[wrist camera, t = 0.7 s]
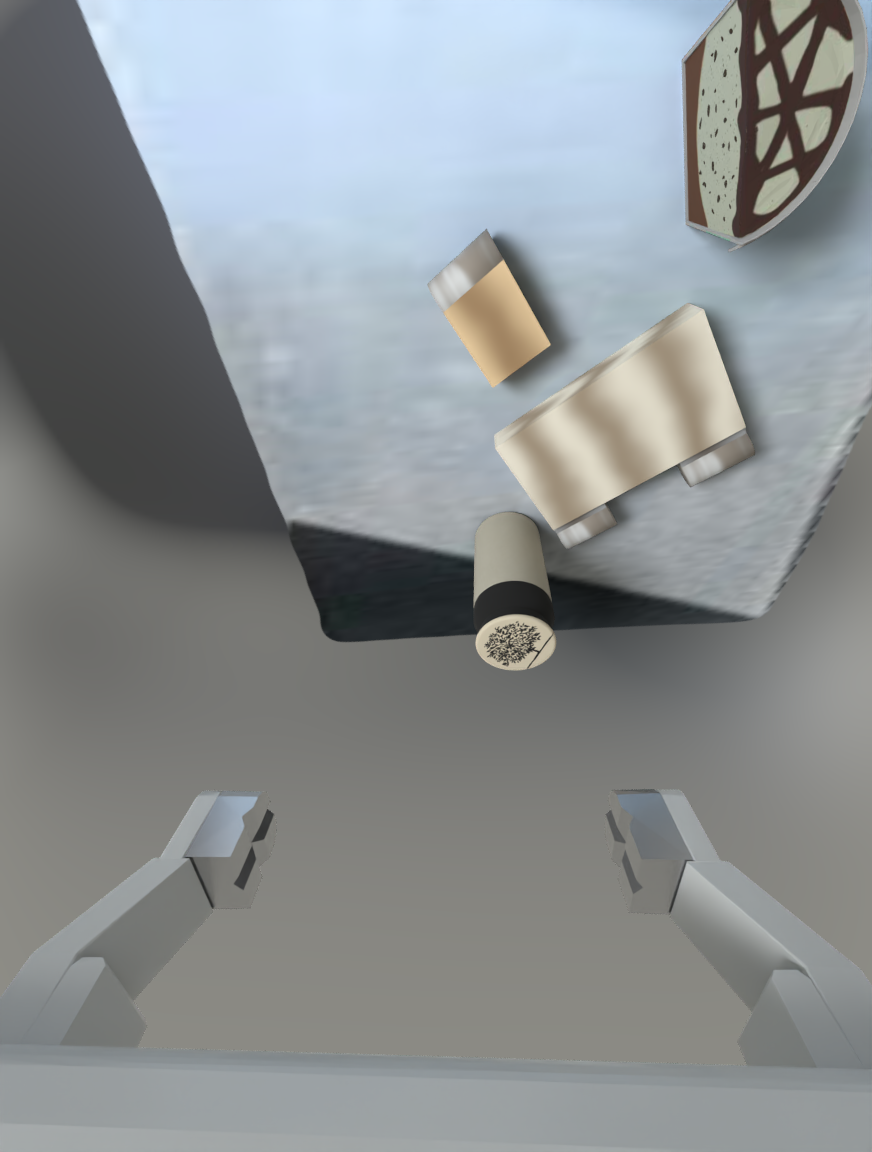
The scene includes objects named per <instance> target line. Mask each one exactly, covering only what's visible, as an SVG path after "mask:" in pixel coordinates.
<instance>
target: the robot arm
mask: <svg viewBox="0 0 872 1152" xmlns="http://www.w3.org/2000/svg"><path fill="white" fill-rule="evenodd" d="M608 802H609V805H610V808H611V810H610V811H609V812H608V813H607V814H606V816H605V837H606V842H607V846H608V850H609V853H610V856H611V859H612V860H613V861H614V862H615V863H616V864H617V865H618V866H619V867H620V873H619V878H618V881H619V884H620V887H621V890H622V893H623V896H624V899H625V902H626V905H627V908H628V911H629V913H644V914H668V915H670V918H671V919H672V920H673V921H674V922H675V924H676V925H677V926H678V927H679V928H680V929H681V930H682V932H683V933H684V934H685V935H686V936H687V937H688V939H689V940H690V941H691V942H692V943H693V944H694V946H695V947H696V948H697V949H698V950H699V951H700V952H701V954H702V955H703V956H704V957H705V958H706V959H707V960H708V962H709V963H710V964H711V965H712V966H713V967H714V969H715V970H716V971H717V972H718V973H719V974H720V976H721V977H722V978H723V979H724V980H725V981H726V983H727V984H728V985H729V986H730V987H731V988H732V990H733V991H734V992H735V993H736V994H737V995H738V997H739V998H740V999H741V1000H742V1001H743V1002H744V1003H745V1005H746V1006H747V1007H748V1008H749V1009H750V1010H751V1012H752V1013H751V1015H750V1017H749V1019H748V1021H747V1022H746V1024H745V1026H744V1028H743V1030H742V1032H741V1035H740V1037H739V1039H738V1041H737V1043H738V1045H739V1047H740V1050H741V1052H742V1055H743V1057H744V1059H745V1062H746V1064H747V1065H715V1064H714V1065H713V1064H679V1063H646V1062H614V1061H580V1060H546V1059H512V1058H478V1057H443V1056H412V1055H375V1054H344V1053H343V1054H341V1053H310V1052H276V1051H274V1052H273V1051H241V1050H207V1049H173V1048H172V1049H171V1048H138V1045H139V1043H140V1041H141V1039H142V1036H143V1034H144V1032H145V1030H146V1028H147V1025H146V1019H145V1017H144V1016H143V1014H142V1013H141V1011H140V1010H139V1009H138V1007H137V1006H136V1004H135V1003H134V1000H135V999H136V997H137V996H138V995H139V994H140V993H141V992H142V991H143V989H144V988H145V987H146V986H147V985H148V984H149V983H150V982H151V981H152V979H153V978H154V977H155V976H156V975H157V974H158V973H159V972H160V971H161V969H162V968H163V967H164V966H165V965H166V964H167V963H168V962H169V960H170V959H171V958H172V957H173V956H174V955H175V954H176V953H177V952H178V950H179V949H180V948H181V947H182V946H183V945H184V944H185V943H186V941H187V940H188V939H189V938H190V937H191V936H192V935H193V934H194V933H195V932H196V930H197V929H198V928H199V927H200V926H201V925H202V924H203V922H204V921H205V920H206V919H207V918H208V917H209V916H210V915H211V914H212V913H213V910H212V909H242V908H243V909H244V908H251V905H252V903H253V900H254V897H255V895H256V892H257V890H258V886H259V884H260V882H261V879H262V874H261V871H260V866H261V865H262V864H263V863H264V862H265V861H266V860H267V859H268V858H269V857H270V855H271V852H272V849H273V847H274V843H275V837H276V831H277V829H276V819H275V815H274V814H273V813H272V812H271V811H270V810H268V809H267V808H268V806H269V803H270V799H269V796H268V793H267V792H251V791H203V792H202V793H200V794H199V795H198V796H197V797H196V799H195V800H194V802H193V804H192V806H191V807H190V809H189V810H188V812H187V814H186V815H185V817H184V819H183V821H182V822H181V824H180V825H179V827H178V829H177V830H176V832H175V834H174V835H173V837H172V839H171V840H170V842H169V843H168V845H167V847H166V848H165V850H164V852H163V854H162V855H161V857H160V858H153V859H152V860H150V861H149V862H148V863H147V864H145V865H144V866H143V867H141V868H140V869H139V870H138V871H136V872H135V873H134V874H133V875H131V876H130V877H129V878H128V879H126V880H125V881H124V882H122V883H121V884H120V885H119V886H117V887H116V888H115V889H114V890H112V891H111V892H110V893H108V894H107V895H106V896H105V897H103V898H102V899H101V900H100V901H98V902H97V903H96V904H94V905H93V906H92V907H91V908H89V909H88V910H87V911H85V912H84V913H83V914H82V915H81V916H79V917H78V918H77V919H75V920H74V921H73V922H72V923H70V924H69V925H68V926H66V927H65V928H64V929H63V930H61V931H60V932H59V933H58V934H56V935H55V936H54V937H52V938H51V939H50V940H49V941H47V942H46V943H45V944H44V945H42V946H41V947H40V948H38V949H37V950H36V951H35V952H33V953H32V954H31V956H30V957H29V959H28V960H27V962H26V963H25V964H24V966H23V967H22V968H21V970H20V971H19V973H18V974H17V975H16V977H15V978H14V979H13V981H12V982H11V984H10V985H9V986H8V988H7V989H6V990H5V992H4V993H3V994H2V996H1V997H0V1152H872V986H871V984H870V982H869V981H868V980H867V978H866V977H865V975H864V974H863V972H862V971H861V969H860V968H858V967H857V966H856V965H855V964H853V963H852V962H851V961H850V960H849V959H847V958H846V957H845V956H844V955H842V954H841V953H840V952H839V951H837V950H836V949H835V948H834V947H832V946H831V945H830V944H829V943H828V942H826V941H825V940H824V939H823V938H822V937H820V936H819V935H818V934H817V933H815V932H814V931H813V930H812V929H810V928H809V927H808V926H807V925H806V924H804V923H803V922H802V921H801V920H799V919H798V918H797V917H796V916H794V915H793V914H792V913H791V912H790V911H788V910H787V909H786V908H785V907H783V906H782V905H781V904H780V903H779V902H777V901H776V900H775V899H774V898H772V897H771V896H770V895H769V894H767V893H766V892H765V891H764V890H763V889H761V888H760V887H759V886H758V885H756V884H755V883H754V882H753V881H752V880H750V879H749V878H748V877H747V876H745V875H744V874H743V873H742V872H740V871H739V870H738V869H737V868H736V867H734V866H733V865H732V864H730V863H729V862H728V861H721V860H720V859H719V857H718V855H717V853H716V851H715V850H714V848H713V846H712V844H711V842H710V841H709V839H708V837H707V835H706V833H705V832H704V830H703V828H702V826H701V824H700V822H699V821H698V819H697V817H696V815H695V813H694V811H693V810H692V808H691V806H690V804H689V802H688V801H687V799H686V797H685V795H684V794H683V793H682V792H681V791H680V790H654V789H642V790H612V791H611V792H610V793H609V798H608Z"/></svg>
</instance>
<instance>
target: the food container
mask: <svg viewBox="0 0 872 1152" xmlns="http://www.w3.org/2000/svg"><path fill="white" fill-rule="evenodd" d="M867 58H868V42H867V28H866V24H865V20H864V16H863V12H862V8H861V6H860V4H859V2H858V0H731V1H730V2H729V3H728V4H727V6H726V7H725V8H724V9H723V10H722V12H721V13H720V14H719V15H718V16H717V18H716V19H715V20H714V21H713V23H712V24H711V25H710V26H709V27H708V29H707V30H706V31H705V32H704V33H703V35H702V36H701V37H700V38H699V39H698V41H697V42H696V43H695V44H694V46H693V47H692V48H691V49H690V50H689V52H688V53H687V54H686V55H685V56H684V58H683V59H682V90H683V133H684V175H685V217H686V225H688V226H691V227H694V228H696V229H699V230H702V231H704V232H707V233H710V234H712V235H715V236H718V237H720V238H723V239H725V240H728V241H731V242H733V243H736V244H737V246H735V247H733V248H731V249H729V250H728V251H729V252H731V251H733V250H736V249H738V248H740V247H743V246H745V245H747V244H749V243H751V242H753V241H755V240H756V239H758V238H760V237H761V236H763V235H764V234H766V233H768V232H769V231H770V230H772V229H773V228H774V227H775V226H777V225H778V224H779V223H781V222H782V221H783V220H784V219H785V218H787V217H788V216H789V215H790V214H791V213H792V212H793V211H794V210H795V209H796V208H797V207H798V206H799V205H800V204H801V203H802V202H803V201H804V200H805V198H806V197H807V196H808V195H809V194H810V193H811V191H812V190H813V189H814V188H815V187H816V185H817V184H818V183H819V182H820V180H821V179H822V177H823V176H824V174H825V173H826V171H827V170H828V169H829V167H830V166H831V164H832V163H833V161H834V159H835V157H836V156H837V154H838V152H839V150H840V148H841V147H842V145H843V143H844V141H845V139H846V137H847V134H848V132H849V130H850V127H851V125H852V123H853V121H854V118H855V115H856V112H857V109H858V106H859V103H860V100H861V96H862V91H863V87H864V82H865V77H866V70H867Z"/></svg>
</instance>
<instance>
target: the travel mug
mask: <svg viewBox="0 0 872 1152" xmlns="http://www.w3.org/2000/svg"><path fill="white" fill-rule="evenodd" d="M554 620H555V616H554V611H553V605H552V600H551V595H550V589H549V584H548V579H547V573H546V568H545V562H544V557H543V552H542V546H541V541H540V536H539V531H538V528H537V526H536V525H535V523H534V522H533V521H532V520H531V519H529V518H528V517H526V516H524V515H522V514H519V513H514V512H503V513H498V514H495V515H493V516H491V517H489V518H487V519H486V520H485V521H484V522H482V524H481V525H480V526H479V528H478V529H477V531H476V535H475V563H474V626H475V629H476V631H477V632H478V635H477V638H476V648H477V651H478V653H479V655H480V656H481V657H482V658H483V659H484V660H485V661H486V662H487V663H489V664H491V665H493V666H495V667H498V668H501V669H506V670H524V669H529V668H532V667H535V666H538V665H540V664H542V663H543V662H545V661H546V660H547V659H548V658H549V657H550V656H551V655H552V654H553V652H554V650H555V647H556V636H555V634H554V632H553V630H552V627H553V625H554Z"/></svg>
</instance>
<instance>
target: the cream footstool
mask: <svg viewBox="0 0 872 1152" xmlns="http://www.w3.org/2000/svg"><path fill="white" fill-rule="evenodd" d="M745 428H746V425H745V423H744V420H743V417H742V414H741V412H740V409H739V406H738V403H737V400H736V398H735V395H734V392H733V389H732V387H731V384H730V381H729V378H728V375H727V373H726V370H725V367H724V364H723V362H722V359H721V356H720V353H719V351H718V348H717V345H716V342H715V339H714V337H713V334H712V331H711V328H710V326H709V323H708V320H707V317H706V314H705V312H704V309H702V308H699V307H697V306H694V305H692V304H690V303H687V304H685V305H684V306H682V307H681V308H680V309H678V310H677V311H675V312H674V313H672V314H671V315H669V316H668V317H666V318H665V319H663V320H662V321H661V322H659V323H658V324H656V325H655V326H653V327H652V328H650V329H649V330H647V331H646V332H644V333H643V334H641V335H640V336H639V337H637V338H636V339H634V340H633V341H631V342H630V343H628V344H627V345H625V346H624V347H622V348H621V349H620V350H618V351H617V352H615V353H614V354H612V355H611V356H609V357H608V358H606V359H605V360H603V361H602V362H601V363H599V364H598V365H596V366H595V367H593V368H592V369H590V370H589V371H587V372H586V373H584V374H583V375H582V376H580V377H579V378H577V379H576V380H574V381H573V382H571V383H570V384H568V385H567V386H565V387H564V388H563V389H561V390H560V391H558V392H557V393H555V394H554V395H552V396H551V397H549V398H548V399H546V400H545V401H544V402H542V403H541V404H539V405H538V406H536V407H535V408H533V409H532V410H530V411H529V412H527V413H526V414H524V415H523V416H522V417H520V418H519V419H517V420H516V421H514V422H513V423H511V424H510V425H508V426H507V427H505V428H504V429H503V430H501V431H500V432H498V433H497V434H495V435H494V437H495V449H496V450H497V451H498V453H499V454H500V456H501V457H502V458H503V460H504V461H505V463H506V464H507V466H508V467H509V468H510V470H511V471H512V473H513V474H514V475H515V477H516V478H517V480H518V481H519V482H520V484H521V485H522V487H523V488H524V489H525V491H526V492H527V494H528V495H529V497H530V498H531V499H532V501H533V502H534V504H535V505H536V506H537V508H538V509H539V511H540V512H541V513H542V515H543V516H544V518H545V519H546V520H547V522H548V523H549V525H550V526H551V528H552V529H553V530H555V532H556V533H557V535H558V537H559V538H560V540H561V542H562V543H563V545H564V546H565V547H566V548H567V549H570V548H572V547H574V546H576V545H578V544H580V543H582V542H584V541H586V540H588V539H589V538H591V537H593V536H595V535H597V534H599V533H601V532H603V531H605V530H607V529H609V528H611V527H613V526H615V525H617V522H616V520H615V518H614V516H613V514H612V512H611V510H610V509H609V507H608V505H607V503H606V502H607V501H609V500H611V499H613V498H615V497H617V496H619V495H620V494H622V493H624V492H626V491H628V490H630V489H632V488H634V487H635V486H637V485H639V484H641V483H643V482H645V481H647V480H648V479H650V478H652V477H654V476H656V475H658V474H660V473H662V472H663V471H665V470H667V469H669V468H671V467H673V466H675V465H677V467H678V469H679V471H680V472H681V474H682V476H683V478H684V479H685V481H686V482H687V484H688V485H689V486H690V487H692V486H694V485H696V484H698V483H700V482H702V481H704V480H706V479H708V478H710V477H712V476H714V475H716V474H718V473H720V472H722V471H724V470H726V469H728V468H730V467H732V466H734V465H736V464H738V463H740V462H742V461H744V460H746V459H747V458H749V457H751V456H753V455H755V450H754V447H753V444H752V442H751V440H750V438H749V436H748V435H747V433H746V430H745Z"/></svg>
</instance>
